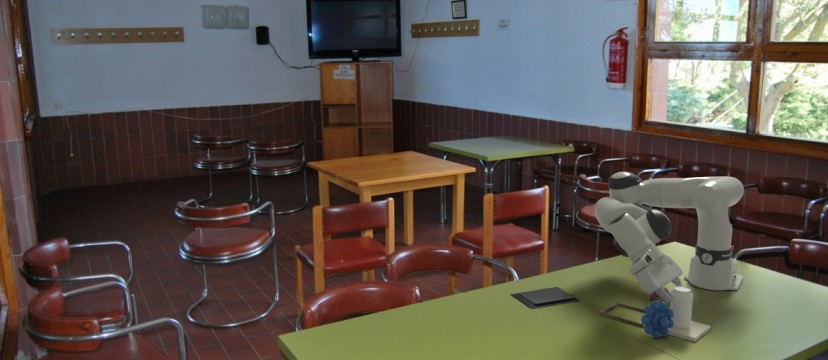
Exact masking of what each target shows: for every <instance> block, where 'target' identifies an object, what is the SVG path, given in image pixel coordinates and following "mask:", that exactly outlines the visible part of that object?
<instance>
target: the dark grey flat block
mask: <svg viewBox="0 0 828 360" xmlns="http://www.w3.org/2000/svg"><path fill="white" fill-rule="evenodd" d="M509 296H512V297H513V299H515V300H516V301H519V302H520V303H521V304H523V305H524V306H526V307H527V308H528V309H531V310H536V309H541V308H547V307H553V306H560V305H564V304H565V305H566V304H570V303H571V302H572V303H577V302H580V301H581V299H579V298H578V297H577V296H574V295H573V294H571V293H570V292H568V291H566V290H564V289H563V288H560V287H558V286H551V287H545V288H539V289H533V290H532V289H531V290H526V291H519V292H515V293H510V294H509ZM559 304H560V305H559Z"/></svg>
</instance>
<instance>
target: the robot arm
mask: <svg viewBox="0 0 828 360" xmlns="http://www.w3.org/2000/svg"><path fill="white" fill-rule="evenodd" d="M607 181H608V182H607V188H608V189H609V190H608V191H609V192H608V193H609V196H603V197H602V198H600V199H599V200H597V202H596V203H595V206H594V215H595V216H596V217H595V218H596V220H597V222H598V223H599V225H600V226H601V228H603V229H604V230H605V231H606V232H607V233H611V234H612V236H613V238H614V240H613V245H614V246H615V247H616V248H617V250H618V251H619V252H620V254H621V255H622V256H623V257H625V258H629V260H630V261H631V265H630V267H629V268H628V271H629V274H630V275H632V276H634V278H635V280H636V281H637V283H638V284H639V286H640V287H641V288H642V289H643V290H644V291H645V293H647V294H648V295H649V294H652V293H653V292H655V291H656V293H657V294H658V295H659V296H661V297H662V298H664V300H665V301H666V302H668V303H670V302H671V300H672V299H673V298H672V297H671V293H669V295H668V294H667V293H666V292H665V291H664V288H663V287H665V286H666V285H668V284H669V283H671V284H673V285H674V287H676V286H683V283H682V281H681V279H680V277H681V276H682V275H683V270H682V268H681V267H680V266H679V265H678V263H676V262H675V260H673V258H672V257H670V256H668V255H667V254H664V253H663V252H662V251H661V250H660V249H659V248H658V246H657V245H656V244H657V243H659V242H660V241H662V240H665V239H666V238H668V237H670V235H671V232H672V227H673V225H672V223H671V221H670V218H668V217H667V215H666V214H664V212H662V211H661V210H659V209H655V208H654V209H652V208H650V207H648V206H651V207H657V208H668V209H669V208H670V209H671V208H673V209H696V214H697V221H698V232H697V242H696V244H695V249H694V251H695V253H694V254H695V255H693V256H692V257H690V263H689V269H688V274H684V279H685V280H686V281H688V282H689V284H691V285H692V286H695V287H697V288H700V289H705V290H709V291H710V290H711V291H727V290H729V291H738V290H739V288H740V286H741V284H742V282H743V280H744V279H743V275H741V274H737V271H738V265H737V263H736V261H735V260H734V259H733V251H734V248H735V247H734V245H732V237H733V226H732V224H731V222H730V217H729V207H733V206H734V205H736V204H737V203H738V202H739V201H740V200H741V199H742V198H743V196H744V193H745V191H744V190H745V188H744V184H743V183H742V182H741V180H739V179H738V178H736V177H733V176H728V175H727V176H724V175H723V176H703V177H700V176H699V177H687V178H686V177H684V178H682V177H661V178H650V179H645V180H643V179H642V178H641V177H640V176H637V174H634V173H632V172H631V171H630V172H629V171H618V172H616V173H613V174H611V175H610V177H608V180H607ZM645 205H646V206H645ZM669 301H670V302H669Z"/></svg>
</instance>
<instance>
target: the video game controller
mask: <svg viewBox="0 0 828 360" xmlns="http://www.w3.org/2000/svg"><path fill="white" fill-rule="evenodd" d="M663 288H664V291H665V292H666V293H667V294H668V295H669V294H670V290H669V289H668V288H666V287H665V286H663ZM647 298H648V300H649V301H654V300H656V299H657V300H656V301H658V302H662V301H663V302H666V301H665V300H664V298H662V297H661V296H659V295H658V294H657V293H656V291H655V292H653V293H652V294H649V293H648V295H647ZM666 303H667V304H669V303H671V301H669V302H666Z"/></svg>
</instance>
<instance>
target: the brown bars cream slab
mask: <svg viewBox="0 0 828 360" xmlns="http://www.w3.org/2000/svg"><path fill="white" fill-rule="evenodd" d="M618 306H620V307H624V308H627V309H631V310H634V311H637V312H640V313H641V312H642V313H644V308H641V307H640V306H639V307H638V306H635V305H630V304H627V303H623V302H619V301H617V302H614V303H613V304H611V305H609V306H608V307H606V308H604V309H602V310H601V311H599V316H602V317H606V318H609V319H613V320H617V321H619V322H620V321H621V322H624V323H627V324H631V325H634V326H637V327H641V328H644V326H645V325H644V324H643V323H642V322H639V321H636V320H631V319H628V318H624V317H621V316H618V315H616V314H615V315H614V314H611V313H609V312H610V311H612V310H613V309H614V308H616V307H618ZM607 312H608V313H607ZM711 329H712V328H711V325H710V324H709V325H708V324H706V323H701V322H698V321H693V320H691V325H690V326H689V327H687V328H685V329H679V328H675V327H671V328H668V334H667V335H670V336H674V337H678V338H680V339H684V340H687V341H690V342H694V343H695V342H697V341H698V340H699V339H701V338H702V337H703V336H704V335H706V334H707V333H708V332H709V331H711Z"/></svg>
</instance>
